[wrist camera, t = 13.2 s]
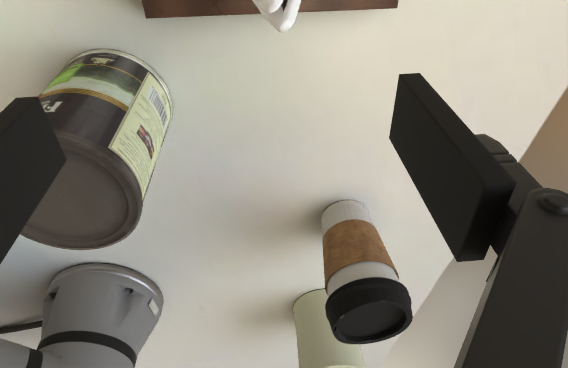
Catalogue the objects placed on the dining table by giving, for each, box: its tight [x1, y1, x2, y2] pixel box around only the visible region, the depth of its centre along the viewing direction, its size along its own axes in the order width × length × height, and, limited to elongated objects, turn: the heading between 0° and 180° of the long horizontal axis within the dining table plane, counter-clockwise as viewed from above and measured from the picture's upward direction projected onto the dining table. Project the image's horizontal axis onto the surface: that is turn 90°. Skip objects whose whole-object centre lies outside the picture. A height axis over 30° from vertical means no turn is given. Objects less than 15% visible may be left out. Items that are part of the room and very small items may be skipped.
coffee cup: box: [321, 200, 413, 344], centre depth 42 cm, size 8×8×15 cm
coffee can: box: [20, 49, 173, 250], centre depth 31 cm, size 10×10×14 cm
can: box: [293, 289, 366, 368], centre depth 56 cm, size 9×9×12 cm
